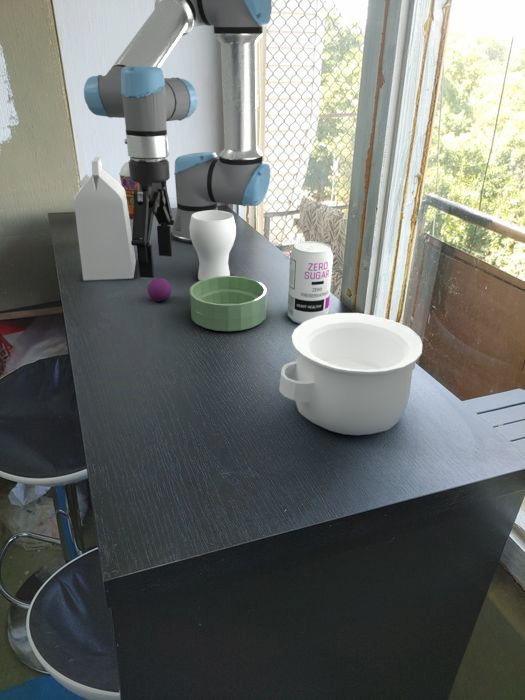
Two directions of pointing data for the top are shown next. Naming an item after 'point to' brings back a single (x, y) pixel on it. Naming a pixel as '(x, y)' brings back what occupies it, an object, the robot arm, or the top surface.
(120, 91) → the robot arm
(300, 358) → the pot
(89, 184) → the milk
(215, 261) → the cup
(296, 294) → the supplement can
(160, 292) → the ball
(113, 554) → the top surface
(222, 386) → the top surface
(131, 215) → the smoothie
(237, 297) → the bowl
